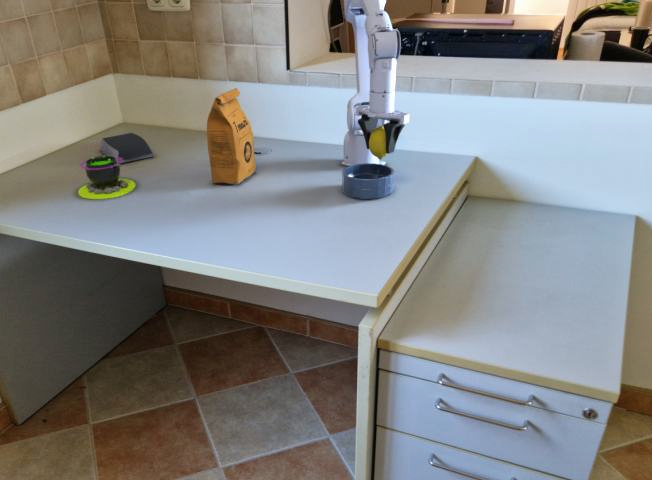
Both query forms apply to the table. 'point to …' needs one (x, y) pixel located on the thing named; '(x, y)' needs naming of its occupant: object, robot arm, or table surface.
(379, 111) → the robot arm
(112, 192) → the toy cauldron
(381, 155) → the lemon
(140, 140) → the hard drive
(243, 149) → the coffee package
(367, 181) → the bowl
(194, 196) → the table surface
